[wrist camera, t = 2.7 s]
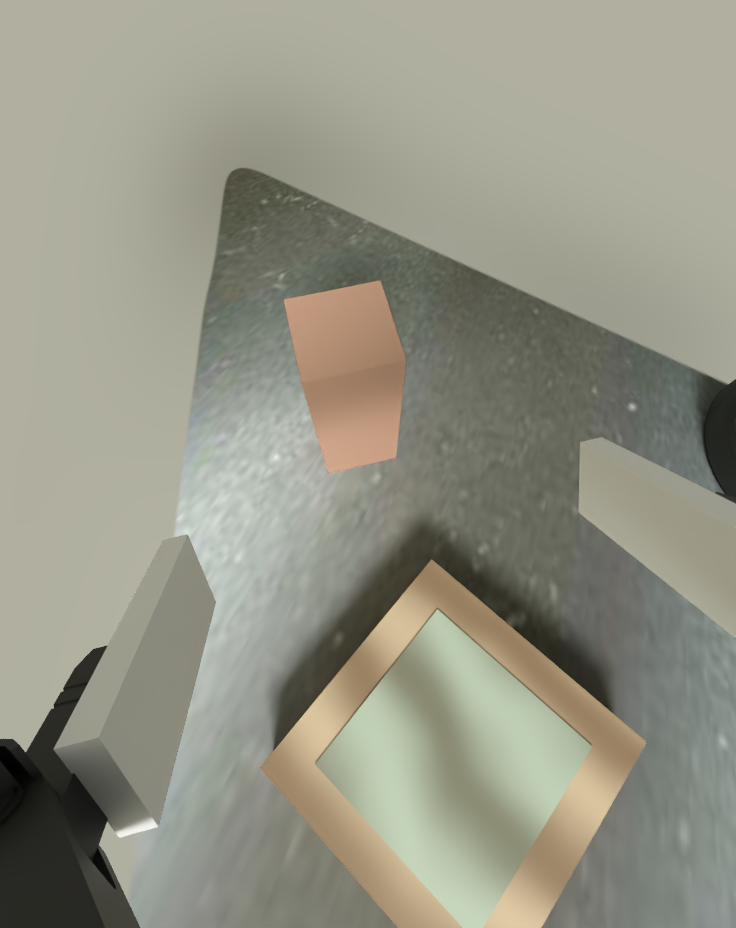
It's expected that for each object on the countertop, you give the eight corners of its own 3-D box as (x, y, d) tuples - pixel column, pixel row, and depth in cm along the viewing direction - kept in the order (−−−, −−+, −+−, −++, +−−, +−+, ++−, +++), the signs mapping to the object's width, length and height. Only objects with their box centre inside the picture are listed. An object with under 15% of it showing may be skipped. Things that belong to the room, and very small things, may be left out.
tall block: (379, 399, 33) (380, 280, 22) (395, 457, 31) (406, 360, 20) (315, 413, 33) (283, 299, 22) (328, 473, 31) (301, 382, 20)
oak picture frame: (426, 566, 28) (431, 558, 25) (616, 730, 25) (647, 742, 22) (273, 752, 25) (259, 768, 22) (470, 975, 21) (484, 1030, 18)
